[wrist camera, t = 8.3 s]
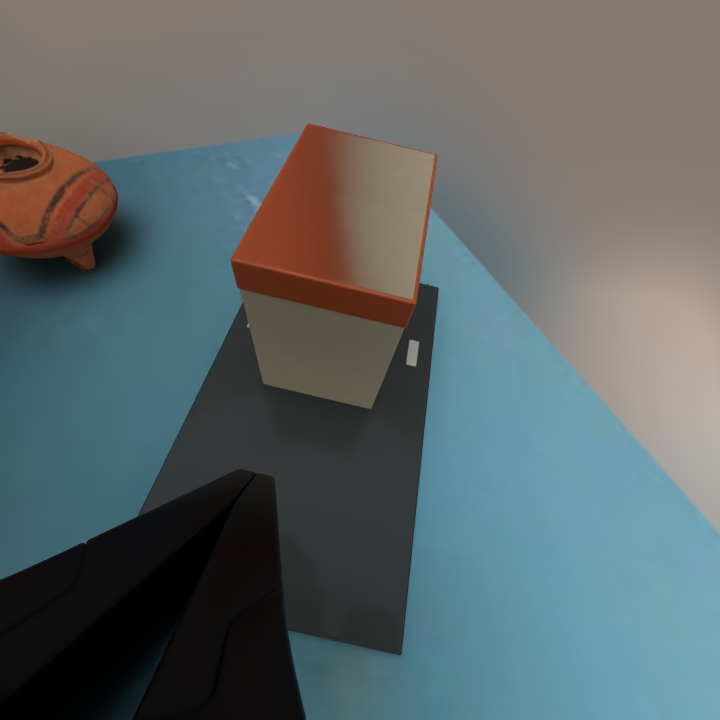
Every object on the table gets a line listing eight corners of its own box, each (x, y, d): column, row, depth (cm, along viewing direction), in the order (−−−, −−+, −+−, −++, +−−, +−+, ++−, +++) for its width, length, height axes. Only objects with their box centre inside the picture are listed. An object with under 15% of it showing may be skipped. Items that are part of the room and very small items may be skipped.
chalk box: (371, 410, 19) (416, 304, 11) (261, 385, 19) (229, 259, 11) (395, 288, 23) (438, 154, 16) (307, 267, 23) (307, 122, 16)
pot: (42, 187, 24) (-6, 80, 19) (155, 239, 26) (140, 153, 20) (-63, 261, 20) (-169, 148, 14) (79, 319, 21) (34, 237, 16)
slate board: (398, 653, 14) (402, 656, 14) (108, 586, 14) (100, 587, 13) (436, 292, 24) (439, 286, 24) (270, 252, 24) (269, 245, 24)
